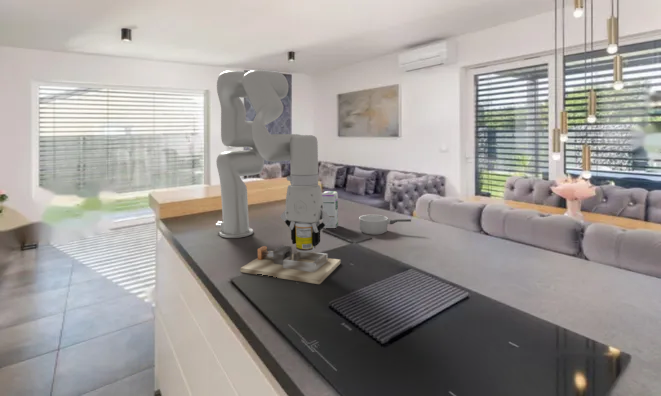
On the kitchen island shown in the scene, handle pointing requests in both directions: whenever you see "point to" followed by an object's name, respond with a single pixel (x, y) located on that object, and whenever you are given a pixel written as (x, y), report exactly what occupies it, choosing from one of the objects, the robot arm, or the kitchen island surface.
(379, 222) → the saucepan
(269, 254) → the lock pin
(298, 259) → the dock
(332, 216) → the syrup box
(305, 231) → the supplement bottle
